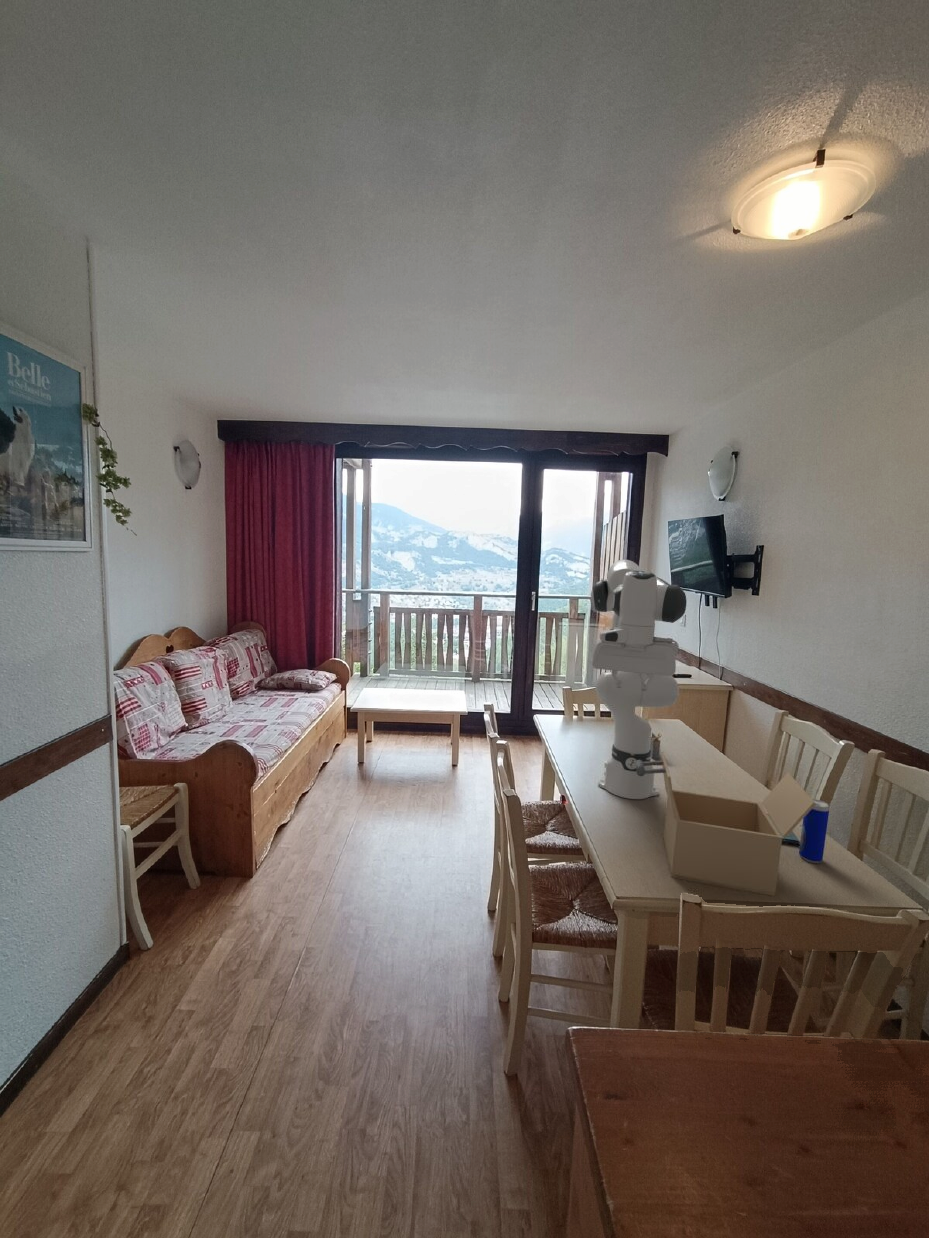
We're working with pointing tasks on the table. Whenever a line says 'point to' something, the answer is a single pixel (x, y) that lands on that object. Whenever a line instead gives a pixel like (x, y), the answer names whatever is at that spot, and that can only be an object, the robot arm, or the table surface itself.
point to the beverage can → (814, 832)
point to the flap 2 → (787, 804)
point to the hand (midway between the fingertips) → (630, 689)
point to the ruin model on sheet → (655, 746)
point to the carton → (722, 842)
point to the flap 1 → (664, 770)
